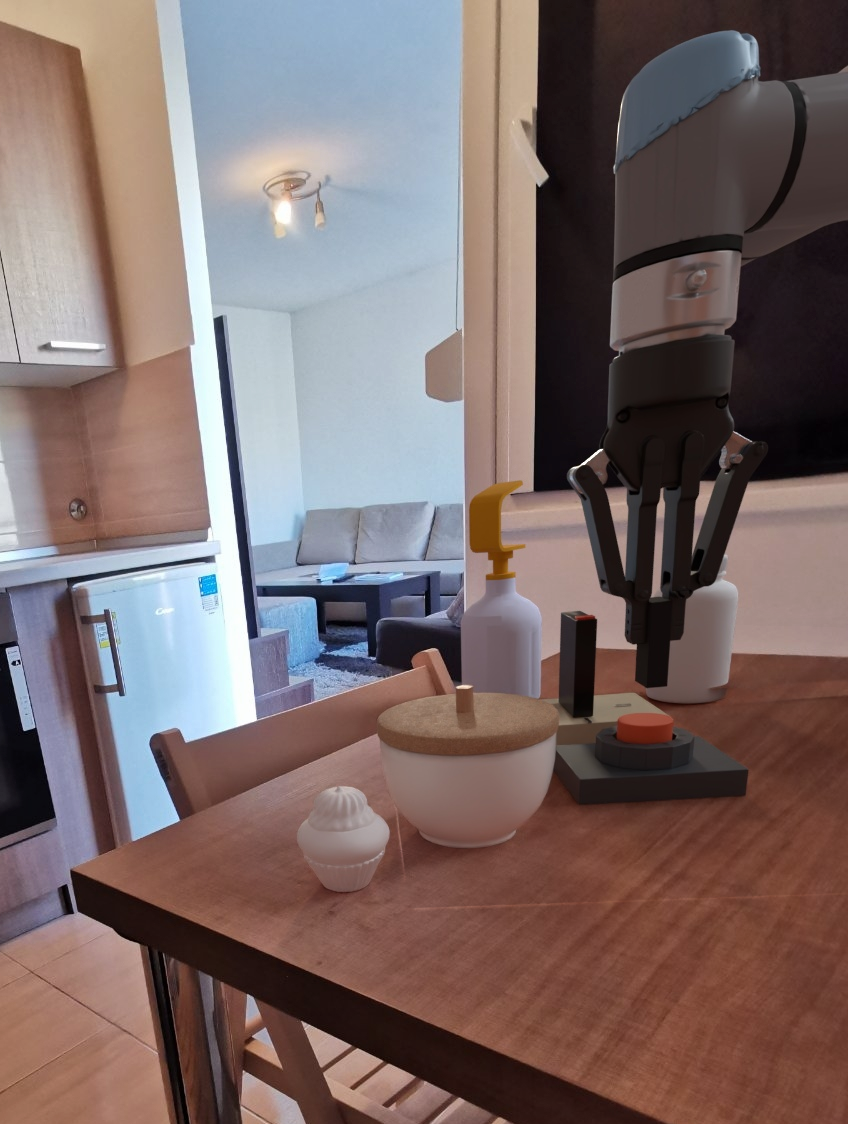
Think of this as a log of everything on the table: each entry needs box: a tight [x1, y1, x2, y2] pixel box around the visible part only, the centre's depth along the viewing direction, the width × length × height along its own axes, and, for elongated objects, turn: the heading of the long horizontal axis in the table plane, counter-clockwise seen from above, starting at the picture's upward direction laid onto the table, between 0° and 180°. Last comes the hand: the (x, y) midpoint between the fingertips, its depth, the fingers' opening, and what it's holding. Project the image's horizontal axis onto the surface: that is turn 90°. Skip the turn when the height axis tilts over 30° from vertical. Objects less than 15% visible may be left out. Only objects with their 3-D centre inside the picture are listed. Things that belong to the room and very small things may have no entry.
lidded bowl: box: [376, 684, 559, 849], centre depth 56 cm, size 13×13×11 cm
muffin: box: [296, 785, 391, 893], centre depth 51 cm, size 6×6×7 cm
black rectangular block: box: [558, 610, 598, 717], centre depth 72 cm, size 6×2×9 cm, turn 172°
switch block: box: [553, 726, 750, 806], centre depth 62 cm, size 12×9×4 cm
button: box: [616, 713, 675, 744], centre depth 61 cm, size 4×4×2 cm
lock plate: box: [542, 692, 670, 746], centre depth 75 cm, size 14×10×3 cm
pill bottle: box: [645, 553, 739, 705], centre depth 82 cm, size 8×8×15 cm
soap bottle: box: [460, 479, 543, 699], centre depth 88 cm, size 9×9×25 cm
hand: (650, 683), depth 60 cm, fingers closed
